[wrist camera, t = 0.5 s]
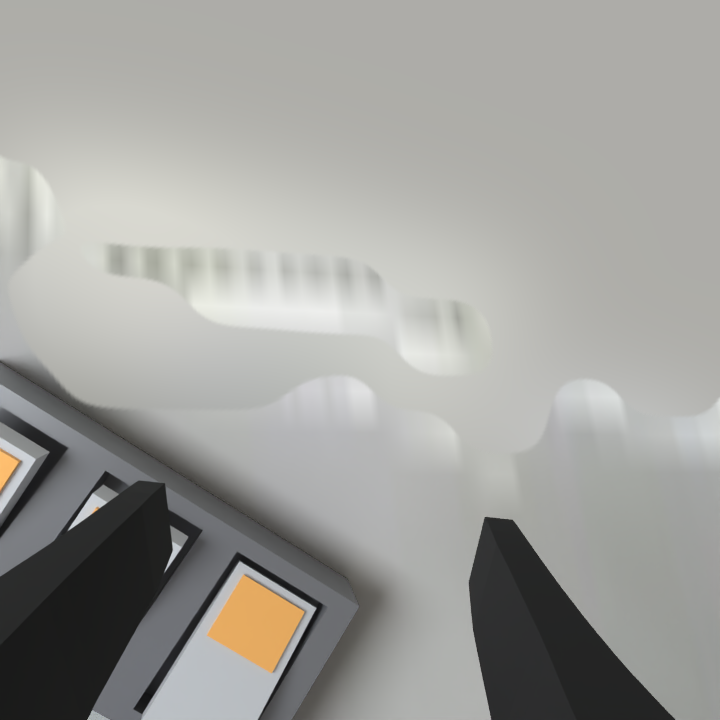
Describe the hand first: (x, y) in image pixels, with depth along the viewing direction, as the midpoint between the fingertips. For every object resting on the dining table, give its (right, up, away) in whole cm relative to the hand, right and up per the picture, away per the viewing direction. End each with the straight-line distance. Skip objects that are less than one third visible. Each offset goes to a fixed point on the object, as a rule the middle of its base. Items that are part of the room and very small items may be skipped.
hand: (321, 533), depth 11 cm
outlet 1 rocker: (-7, -13, +17) cm, 23 cm away
